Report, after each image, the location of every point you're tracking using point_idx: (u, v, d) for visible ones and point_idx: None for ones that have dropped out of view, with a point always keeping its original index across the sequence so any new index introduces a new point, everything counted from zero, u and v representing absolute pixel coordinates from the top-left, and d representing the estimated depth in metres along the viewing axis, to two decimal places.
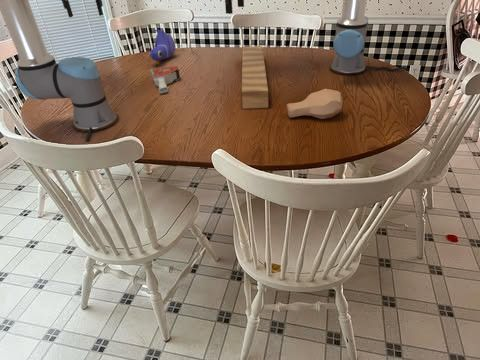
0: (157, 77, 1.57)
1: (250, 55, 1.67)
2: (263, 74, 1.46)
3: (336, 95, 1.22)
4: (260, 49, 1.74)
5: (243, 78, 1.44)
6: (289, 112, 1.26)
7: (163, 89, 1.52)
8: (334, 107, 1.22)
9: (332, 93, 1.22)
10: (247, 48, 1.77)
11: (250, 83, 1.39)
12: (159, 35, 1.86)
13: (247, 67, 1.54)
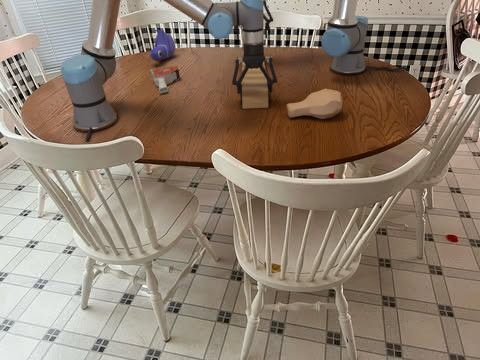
0: (157, 77, 1.57)
1: None
2: (263, 74, 1.46)
3: (336, 95, 1.22)
4: None
5: (243, 78, 1.44)
6: (289, 112, 1.26)
7: (163, 89, 1.52)
8: (334, 107, 1.22)
9: (332, 93, 1.22)
10: None
11: (250, 83, 1.39)
12: (159, 35, 1.86)
13: None
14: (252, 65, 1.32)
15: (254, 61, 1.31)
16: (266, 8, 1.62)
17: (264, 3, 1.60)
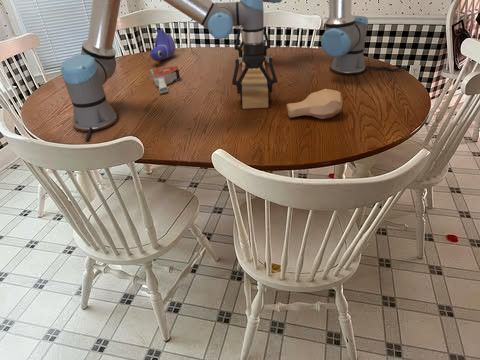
0: (157, 77, 1.57)
1: None
2: (263, 74, 1.46)
3: (336, 95, 1.22)
4: None
5: (243, 78, 1.43)
6: (289, 112, 1.26)
7: (163, 89, 1.52)
8: (334, 107, 1.22)
9: (332, 93, 1.22)
10: None
11: (250, 83, 1.39)
12: (159, 35, 1.86)
13: None
14: (252, 65, 1.32)
15: (254, 61, 1.31)
16: (265, 35, 1.69)
17: (264, 30, 1.67)
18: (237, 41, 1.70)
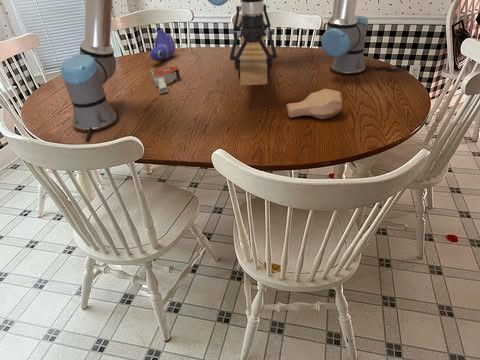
0: (157, 77, 1.57)
1: None
2: (263, 51, 1.41)
3: (336, 95, 1.22)
4: None
5: (242, 55, 1.38)
6: (289, 112, 1.26)
7: (163, 89, 1.52)
8: (334, 107, 1.22)
9: (332, 93, 1.22)
10: None
11: (249, 59, 1.33)
12: (159, 35, 1.86)
13: (246, 45, 1.48)
14: (251, 39, 1.26)
15: (253, 34, 1.25)
16: (265, 13, 1.63)
17: (264, 7, 1.62)
18: (236, 20, 1.65)
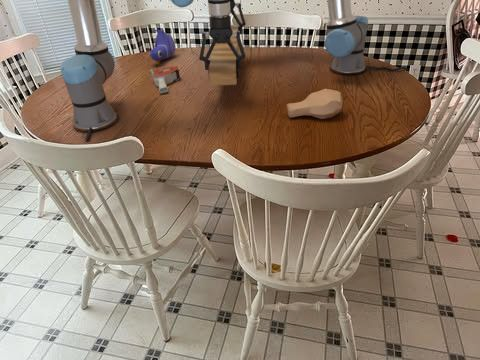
0: (157, 77, 1.57)
1: None
2: None
3: (336, 95, 1.22)
4: (236, 27, 1.70)
5: (213, 55, 1.40)
6: (289, 112, 1.26)
7: (163, 89, 1.52)
8: (334, 107, 1.22)
9: (332, 93, 1.22)
10: None
11: (219, 59, 1.35)
12: (159, 35, 1.86)
13: (219, 44, 1.50)
14: (219, 40, 1.28)
15: (221, 35, 1.27)
16: (240, 11, 1.64)
17: (239, 6, 1.63)
18: None
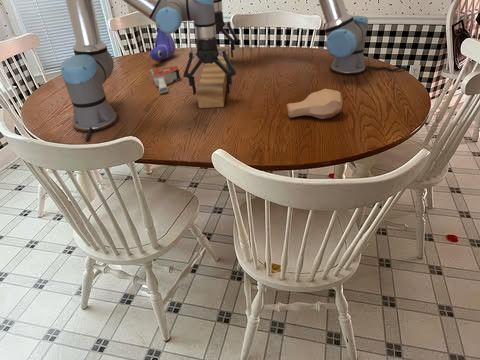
0: (157, 77, 1.57)
1: None
2: (222, 74, 1.49)
3: (336, 95, 1.22)
4: (226, 49, 1.77)
5: (201, 78, 1.46)
6: (289, 112, 1.26)
7: (163, 89, 1.52)
8: (334, 107, 1.22)
9: (332, 93, 1.22)
10: None
11: (207, 83, 1.42)
12: (159, 35, 1.86)
13: (208, 67, 1.56)
14: (206, 60, 1.33)
15: (208, 57, 1.32)
16: (230, 29, 1.70)
17: (228, 25, 1.68)
18: None
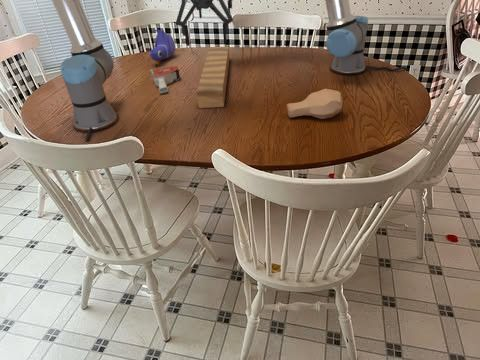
0: (157, 77, 1.57)
1: (214, 55, 1.70)
2: (222, 74, 1.49)
3: (336, 95, 1.22)
4: (226, 49, 1.77)
5: (201, 78, 1.46)
6: (289, 112, 1.26)
7: (163, 89, 1.52)
8: (334, 107, 1.22)
9: (332, 93, 1.22)
10: (213, 48, 1.79)
11: (207, 83, 1.42)
12: (159, 35, 1.86)
13: (208, 67, 1.56)
14: (200, 5, 1.22)
15: (202, 0, 1.21)
16: None
17: None
18: None
